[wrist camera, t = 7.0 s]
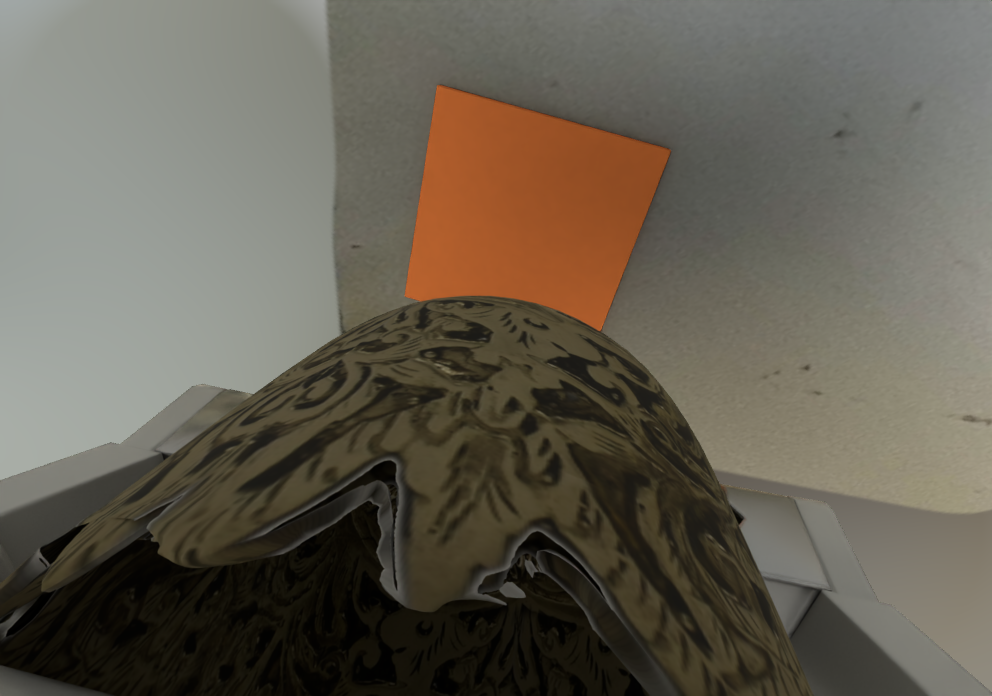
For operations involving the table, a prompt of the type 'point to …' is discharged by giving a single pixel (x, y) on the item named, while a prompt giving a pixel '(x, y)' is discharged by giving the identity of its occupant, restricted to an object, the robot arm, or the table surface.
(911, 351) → the table surface
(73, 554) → the brown ornate vase
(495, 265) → the orange square board
